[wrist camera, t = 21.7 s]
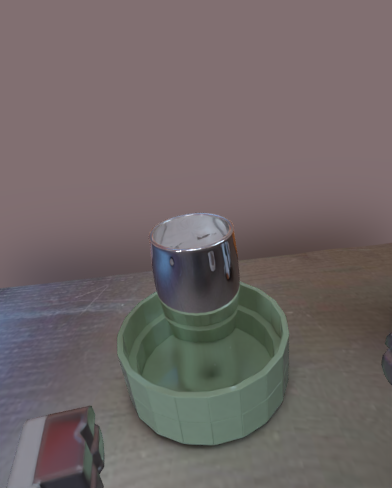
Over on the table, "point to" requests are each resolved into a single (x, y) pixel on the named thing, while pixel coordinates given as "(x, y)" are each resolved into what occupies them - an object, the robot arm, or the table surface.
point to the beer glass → (199, 296)
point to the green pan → (214, 402)
